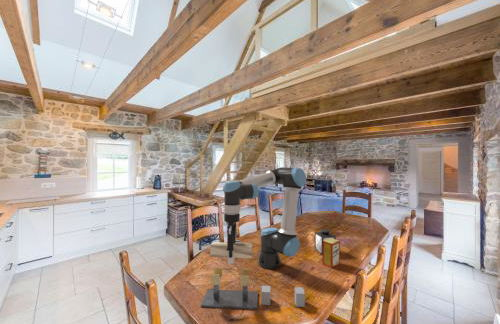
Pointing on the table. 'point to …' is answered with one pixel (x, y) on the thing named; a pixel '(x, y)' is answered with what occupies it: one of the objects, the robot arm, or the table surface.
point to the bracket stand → (230, 293)
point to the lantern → (322, 238)
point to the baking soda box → (331, 252)
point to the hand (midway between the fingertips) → (231, 261)
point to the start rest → (298, 296)
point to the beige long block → (239, 248)
